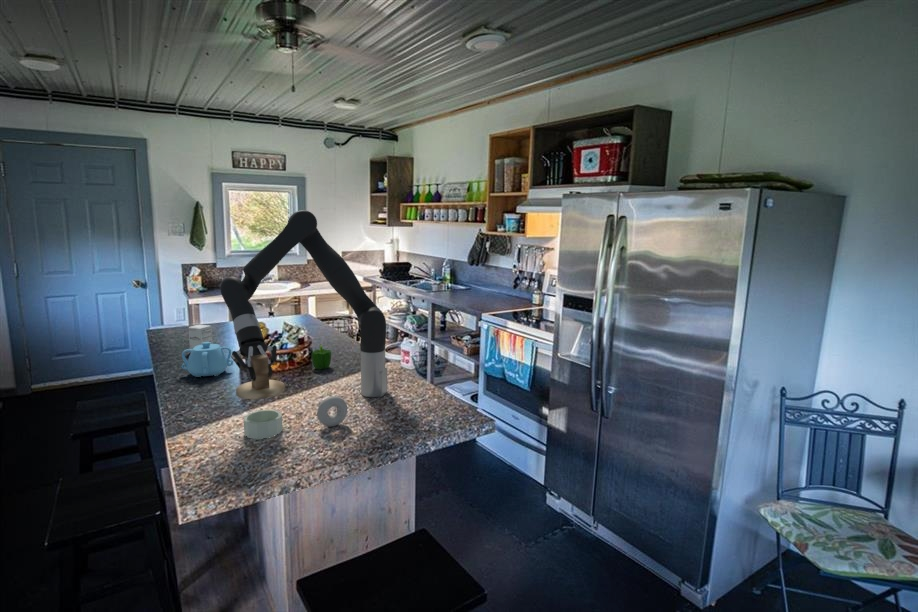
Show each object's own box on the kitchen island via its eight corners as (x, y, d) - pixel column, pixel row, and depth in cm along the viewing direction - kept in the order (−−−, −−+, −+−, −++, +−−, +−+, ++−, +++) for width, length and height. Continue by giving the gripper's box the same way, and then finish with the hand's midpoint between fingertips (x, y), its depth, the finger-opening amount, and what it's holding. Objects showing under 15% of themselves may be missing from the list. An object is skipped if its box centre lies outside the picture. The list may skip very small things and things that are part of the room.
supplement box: (189, 352, 241) (187, 327, 239) (201, 349, 248) (199, 323, 246) (202, 354, 239) (200, 328, 237) (213, 350, 246) (212, 325, 244)
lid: (275, 380, 166) (273, 347, 164) (291, 392, 155) (290, 358, 153) (230, 389, 157) (227, 355, 155) (244, 402, 146) (242, 366, 144)
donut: (345, 420, 167) (344, 392, 165) (349, 424, 164) (348, 395, 163) (315, 427, 162) (314, 397, 160) (319, 431, 159) (318, 401, 157)
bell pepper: (328, 371, 218) (328, 348, 216) (309, 370, 218) (308, 348, 216) (333, 365, 226) (333, 343, 224) (315, 364, 226) (314, 343, 224)
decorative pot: (178, 375, 209) (175, 343, 207) (214, 365, 223) (211, 335, 220) (201, 382, 201) (198, 349, 198) (237, 372, 214) (235, 341, 212)
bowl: (289, 426, 162) (288, 411, 161) (270, 440, 152) (269, 425, 151) (258, 422, 164) (257, 408, 163) (237, 437, 154) (236, 421, 153)
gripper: (226, 327, 154) (239, 376, 146) (273, 322, 162) (288, 368, 155) (222, 341, 159) (235, 388, 152) (268, 334, 167) (283, 379, 160)
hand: (262, 377), depth 153 cm, fingers closed on lid, 4 cm apart
